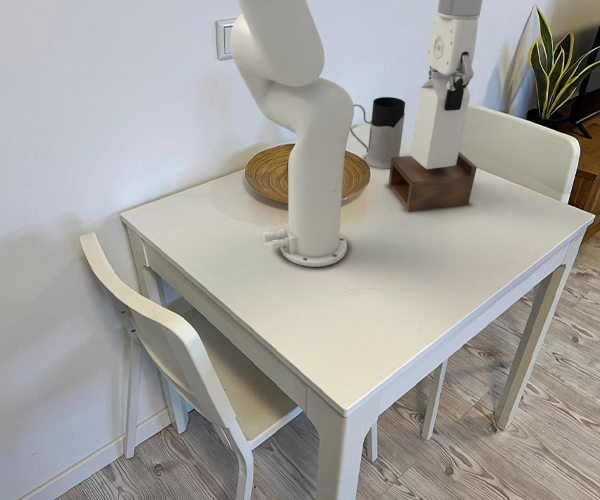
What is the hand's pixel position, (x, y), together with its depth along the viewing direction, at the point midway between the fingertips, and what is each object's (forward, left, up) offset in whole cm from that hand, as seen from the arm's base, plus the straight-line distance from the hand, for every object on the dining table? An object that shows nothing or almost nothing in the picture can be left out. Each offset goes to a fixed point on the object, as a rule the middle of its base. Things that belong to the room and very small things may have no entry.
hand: (442, 102), depth 103 cm
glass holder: (-6, +20, -21) cm, 30 cm away
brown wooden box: (0, 0, -21) cm, 21 cm away
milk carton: (0, 0, -13) cm, 13 cm away
